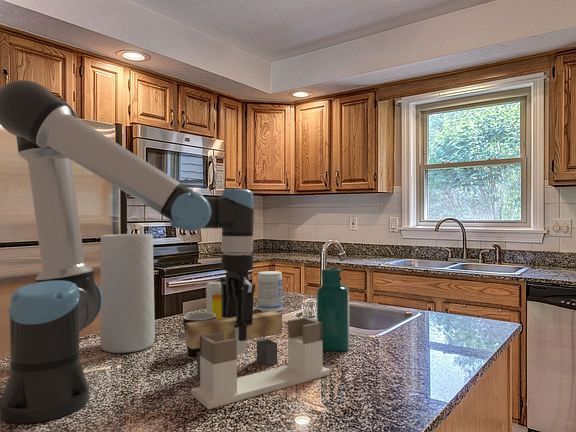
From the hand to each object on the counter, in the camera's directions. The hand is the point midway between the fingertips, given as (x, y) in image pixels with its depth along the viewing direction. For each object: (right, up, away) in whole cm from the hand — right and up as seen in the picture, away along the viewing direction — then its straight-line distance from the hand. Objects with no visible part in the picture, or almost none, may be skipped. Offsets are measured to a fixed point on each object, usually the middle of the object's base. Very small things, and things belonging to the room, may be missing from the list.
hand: (236, 351), depth 103 cm
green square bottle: (+25, -4, +16) cm, 30 cm away
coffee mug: (-11, -5, +13) cm, 17 cm away
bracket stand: (+7, -4, -10) cm, 13 cm away
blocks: (+1, -4, 0) cm, 4 cm away
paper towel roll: (-33, -5, +18) cm, 38 cm away
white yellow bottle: (-11, -5, +36) cm, 38 cm away
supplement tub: (+6, -4, +63) cm, 64 cm away
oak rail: (0, +3, 0) cm, 3 cm away
